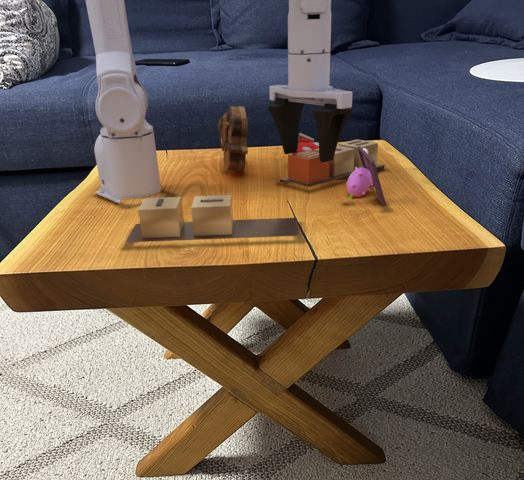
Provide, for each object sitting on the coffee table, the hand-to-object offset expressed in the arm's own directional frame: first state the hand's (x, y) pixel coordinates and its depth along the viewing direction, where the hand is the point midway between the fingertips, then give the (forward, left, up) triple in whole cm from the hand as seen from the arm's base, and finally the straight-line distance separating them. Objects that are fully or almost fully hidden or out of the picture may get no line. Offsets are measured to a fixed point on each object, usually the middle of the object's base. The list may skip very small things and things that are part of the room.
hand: (308, 156), depth 82 cm
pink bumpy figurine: (+12, -1, -4) cm, 13 cm away
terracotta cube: (0, 0, -3) cm, 3 cm away
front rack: (+8, -23, -4) cm, 25 cm away
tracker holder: (-9, +11, -4) cm, 15 cm away
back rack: (0, +6, -4) cm, 7 cm away
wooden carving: (-15, -2, -4) cm, 16 cm away
